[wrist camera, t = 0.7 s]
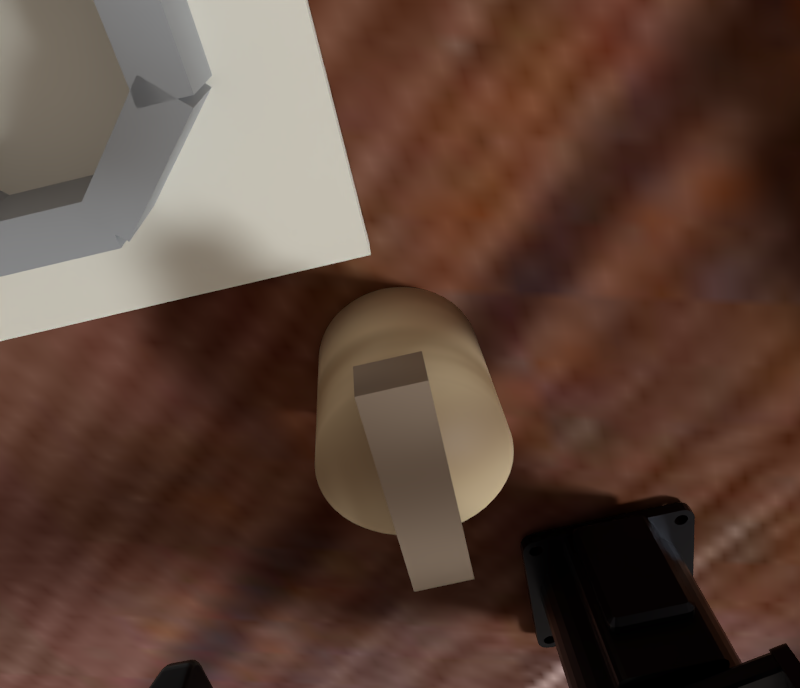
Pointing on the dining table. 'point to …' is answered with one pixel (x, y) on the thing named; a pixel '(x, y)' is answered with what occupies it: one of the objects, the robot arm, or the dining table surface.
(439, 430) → the rotary grip knob
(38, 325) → the socket board
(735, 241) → the dining table surface
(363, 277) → the dining table surface
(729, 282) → the dining table surface
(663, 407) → the dining table surface
